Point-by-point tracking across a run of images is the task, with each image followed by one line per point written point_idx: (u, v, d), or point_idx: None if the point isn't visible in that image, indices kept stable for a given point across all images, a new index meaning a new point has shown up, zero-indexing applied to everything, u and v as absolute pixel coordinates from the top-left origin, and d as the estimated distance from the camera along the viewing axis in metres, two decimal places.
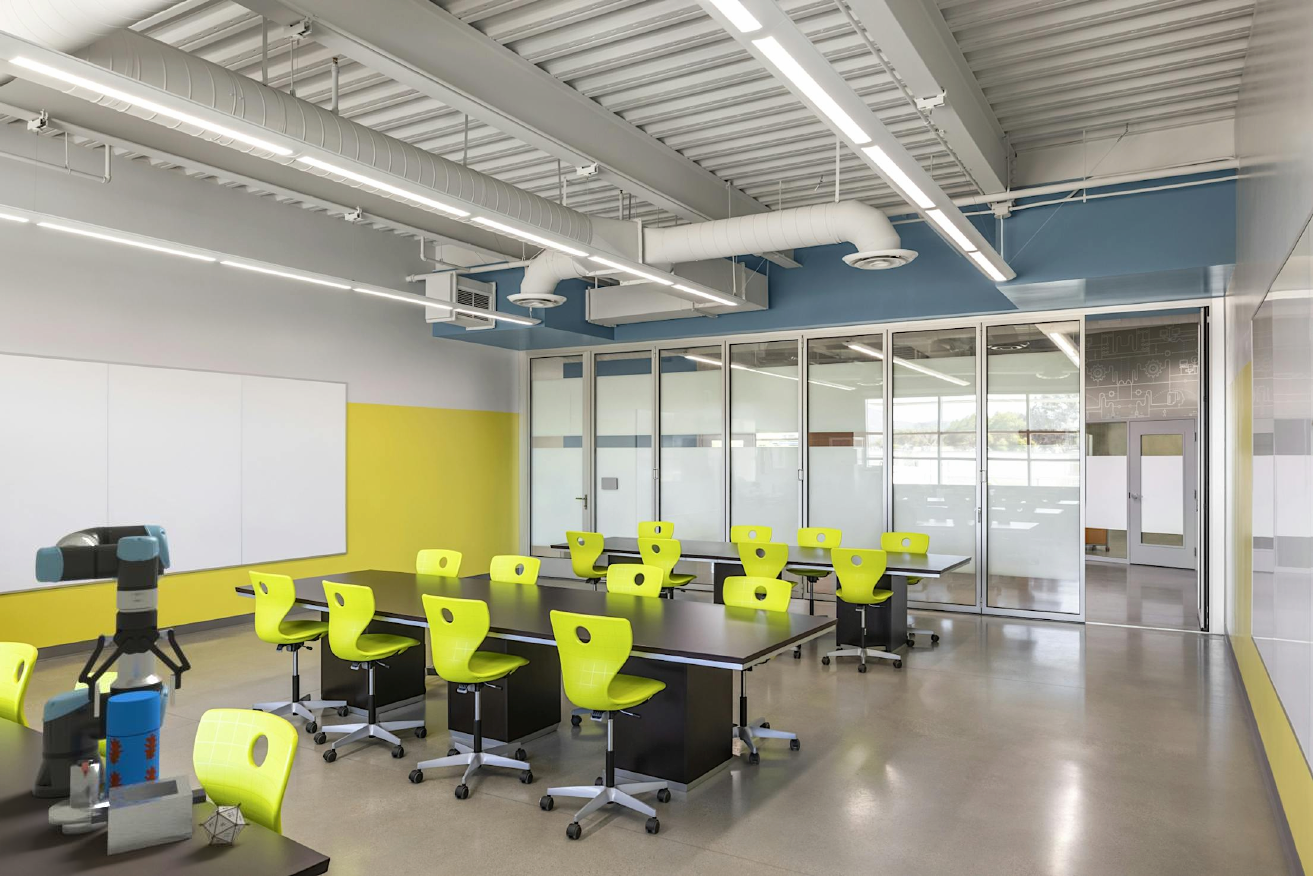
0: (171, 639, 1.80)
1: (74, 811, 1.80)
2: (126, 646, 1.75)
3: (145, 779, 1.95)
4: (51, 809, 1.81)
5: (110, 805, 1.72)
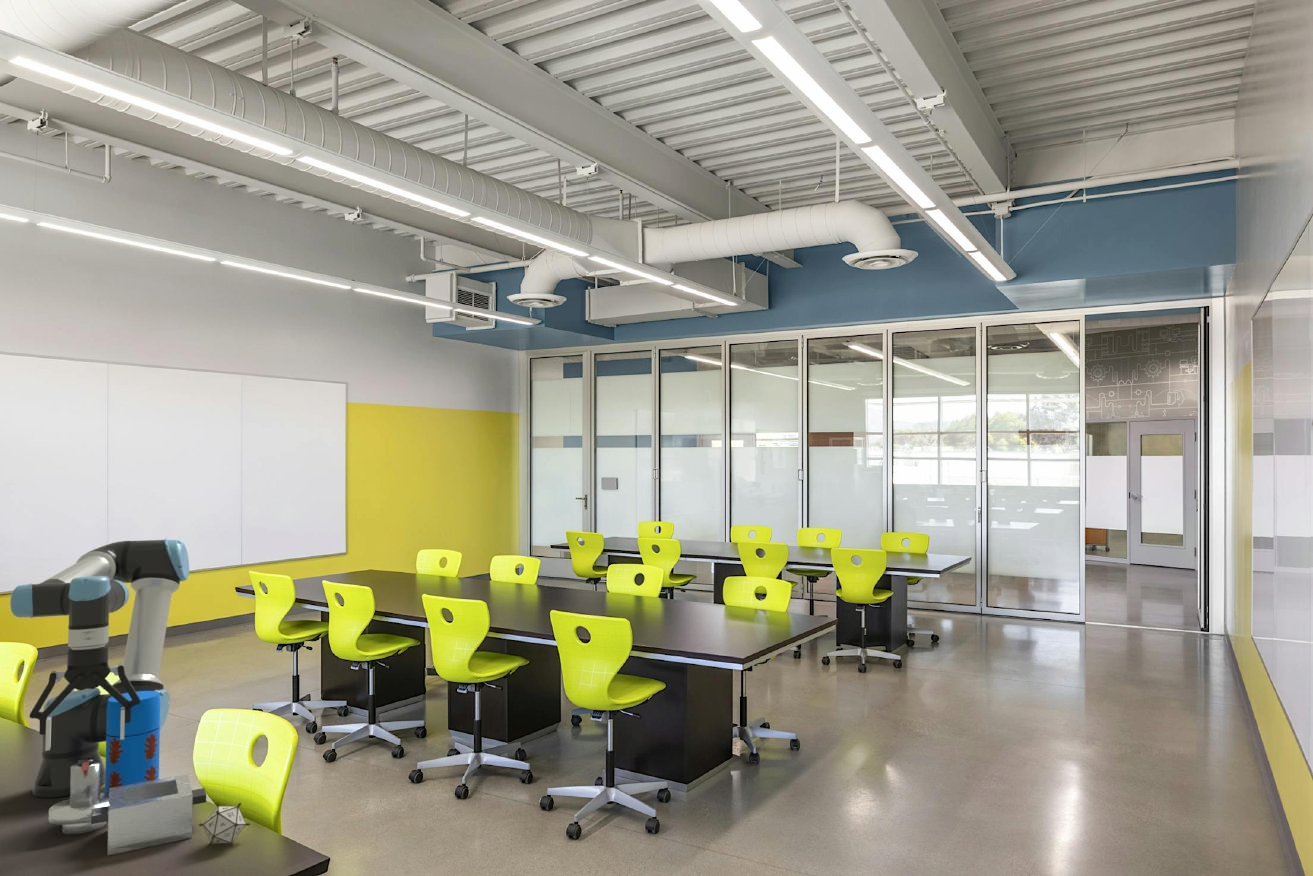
0: (121, 675, 1.88)
1: (74, 811, 1.80)
2: (77, 682, 1.83)
3: (145, 779, 1.95)
4: (51, 809, 1.81)
5: (110, 805, 1.72)
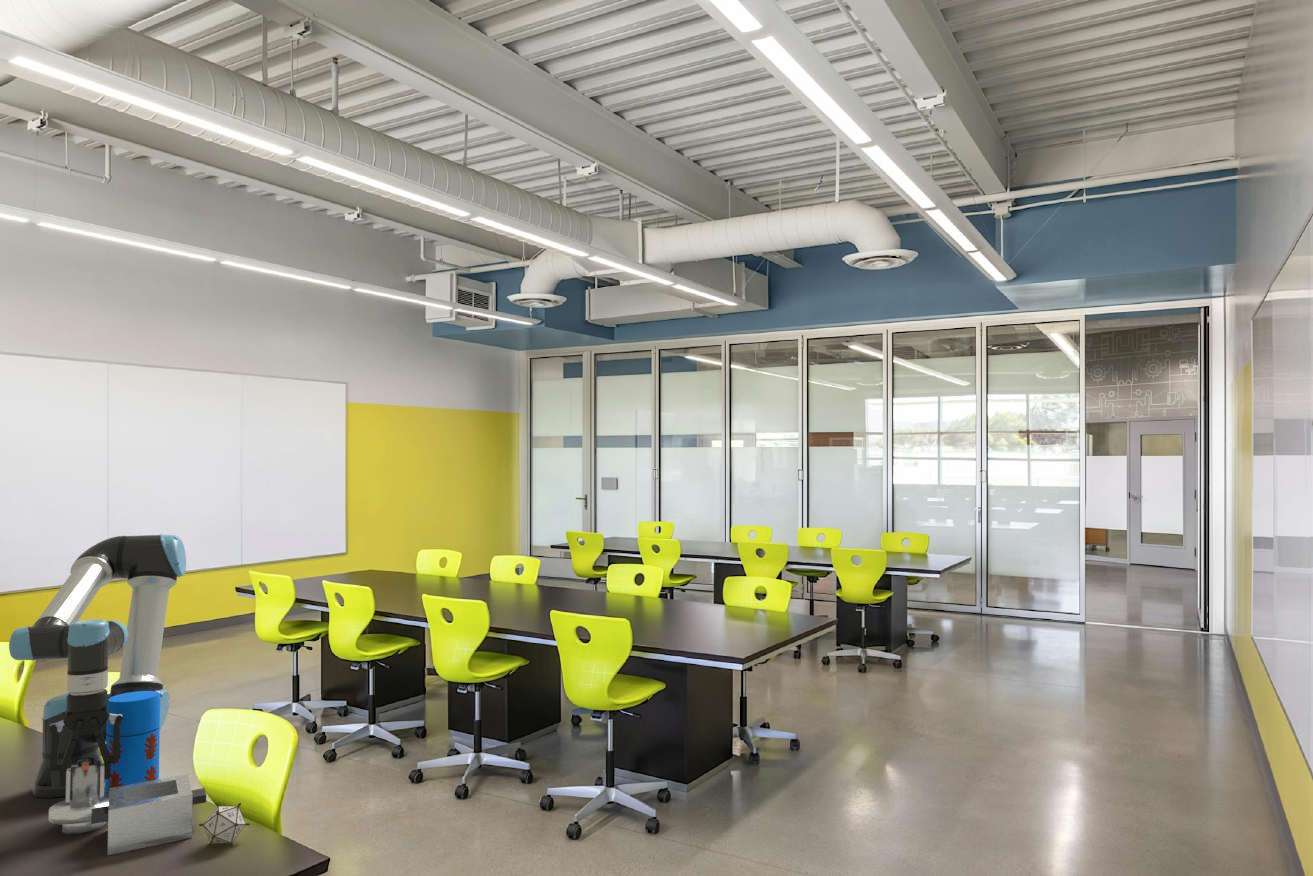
0: (116, 725, 1.87)
1: (74, 811, 1.80)
2: (78, 728, 1.83)
3: (145, 779, 1.95)
4: (51, 809, 1.81)
5: (110, 805, 1.72)
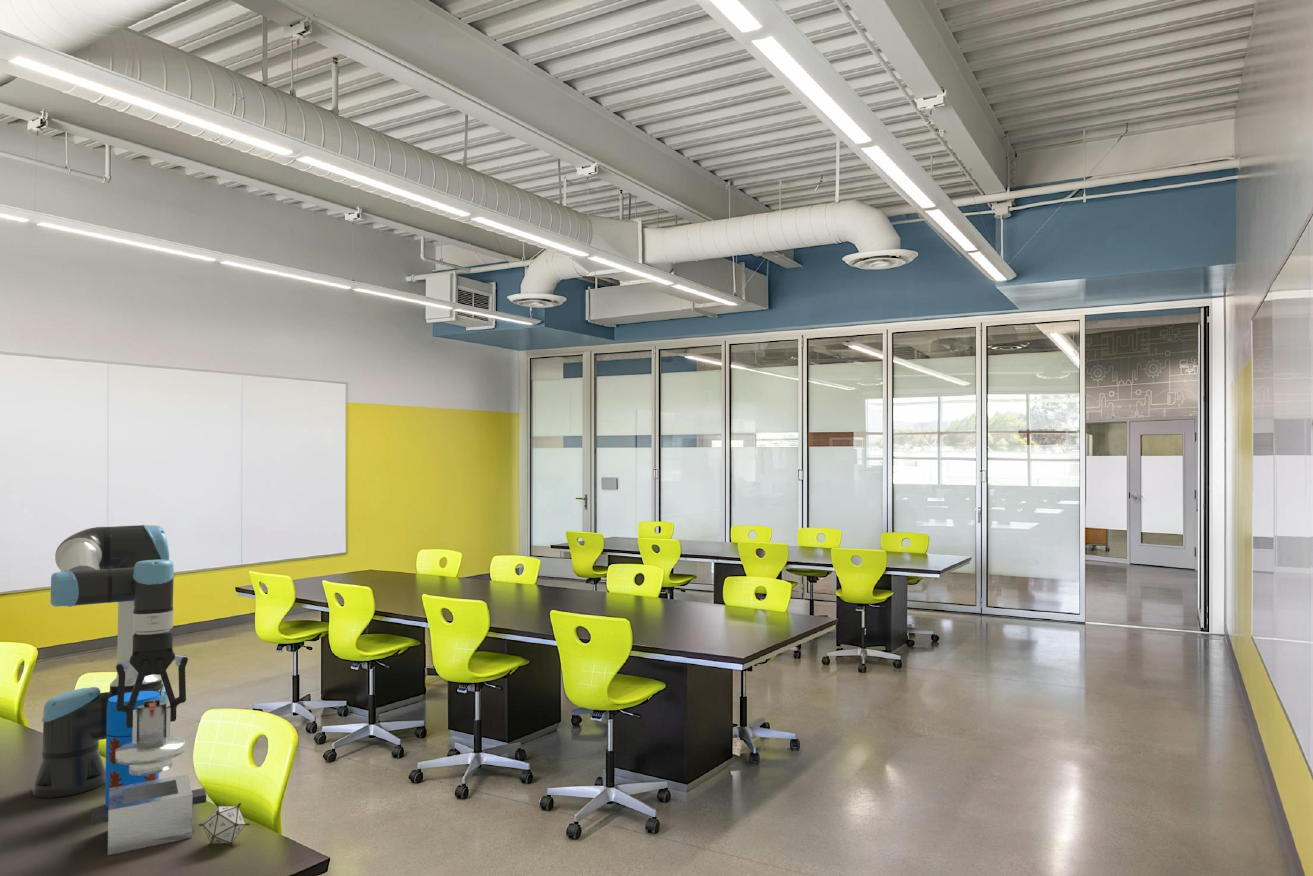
0: (182, 667, 1.84)
1: (142, 752, 1.76)
2: (145, 668, 1.79)
3: (145, 779, 1.95)
4: (118, 750, 1.77)
5: (110, 805, 1.72)
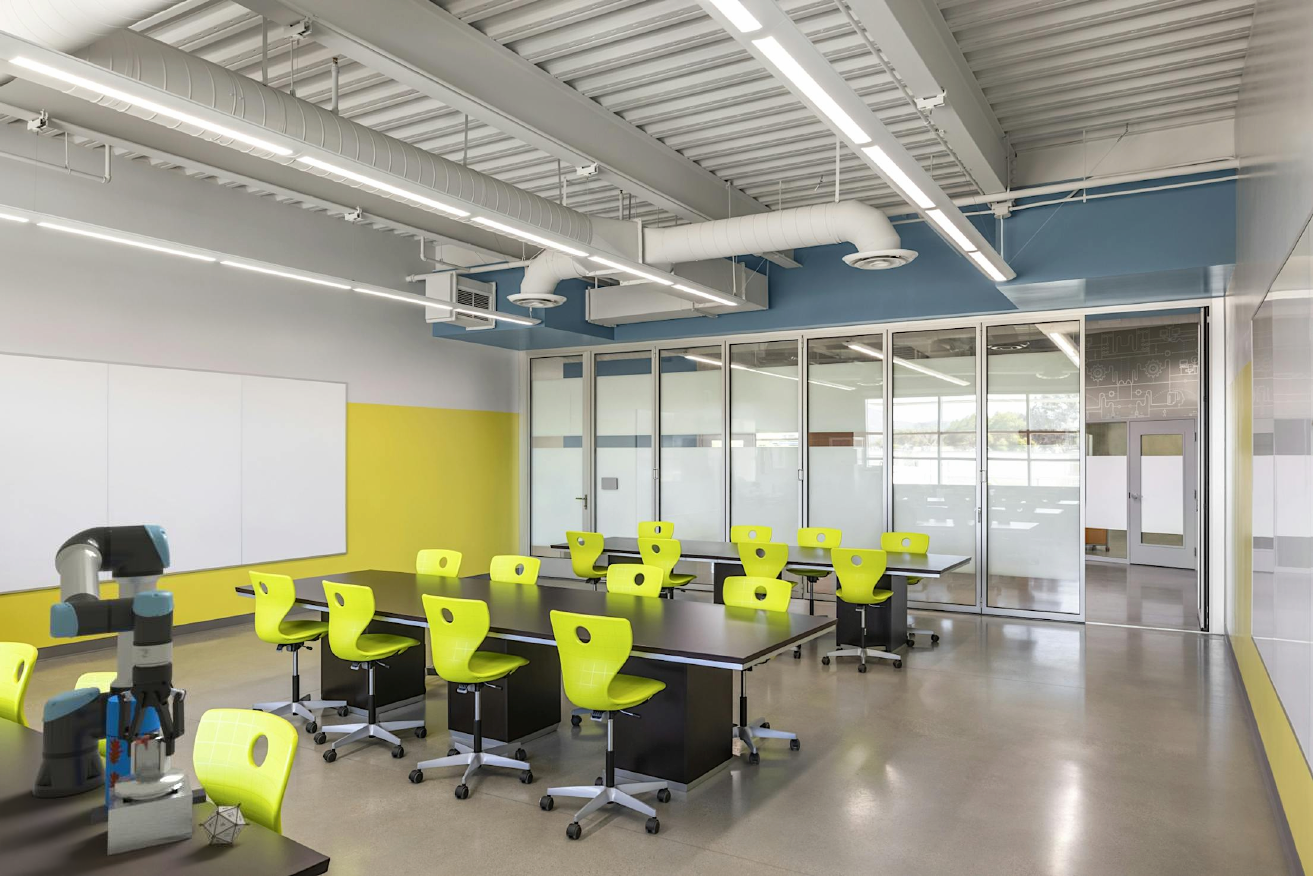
0: (175, 702, 1.80)
1: (130, 785, 1.76)
2: (140, 700, 1.79)
3: None
4: (122, 778, 1.80)
5: (110, 805, 1.72)
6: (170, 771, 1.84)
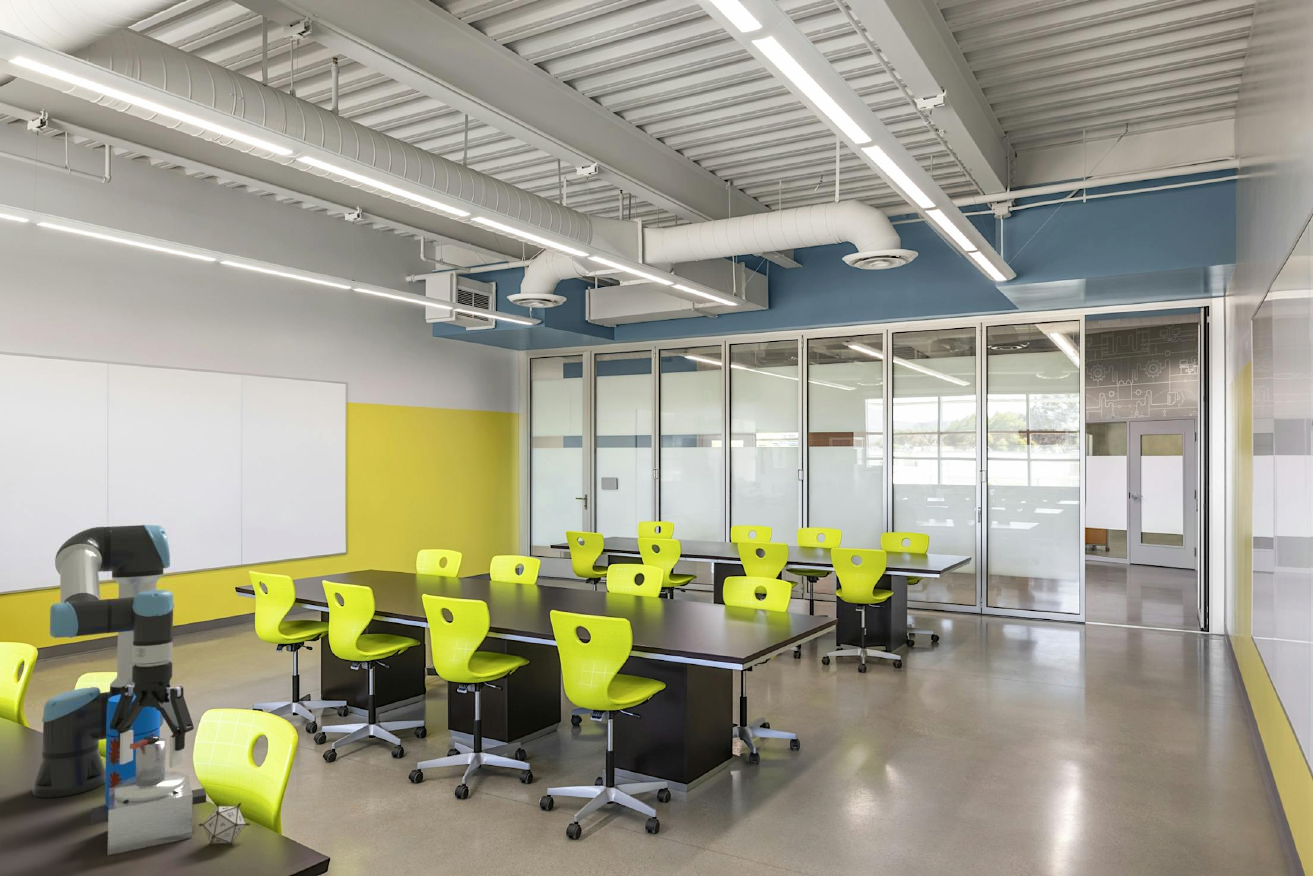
0: (172, 698, 1.79)
1: (126, 788, 1.76)
2: (138, 699, 1.80)
3: None
4: (127, 779, 1.82)
5: (110, 805, 1.72)
6: (172, 776, 1.84)
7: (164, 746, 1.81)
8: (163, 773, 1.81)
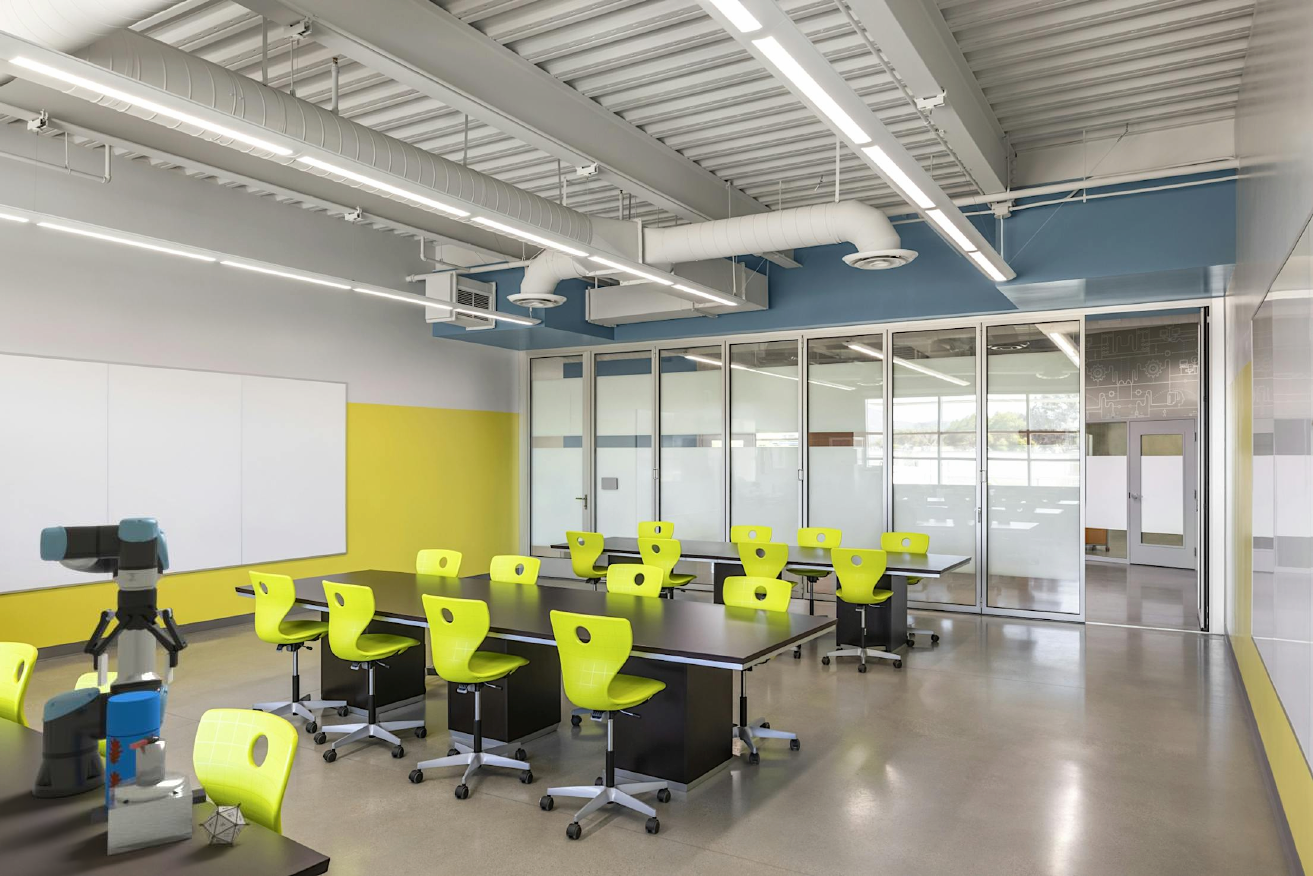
0: (165, 619, 1.85)
1: (126, 788, 1.76)
2: (124, 622, 1.83)
3: None
4: (127, 779, 1.82)
5: (110, 805, 1.72)
6: (172, 776, 1.84)
7: (164, 746, 1.81)
8: (163, 773, 1.81)
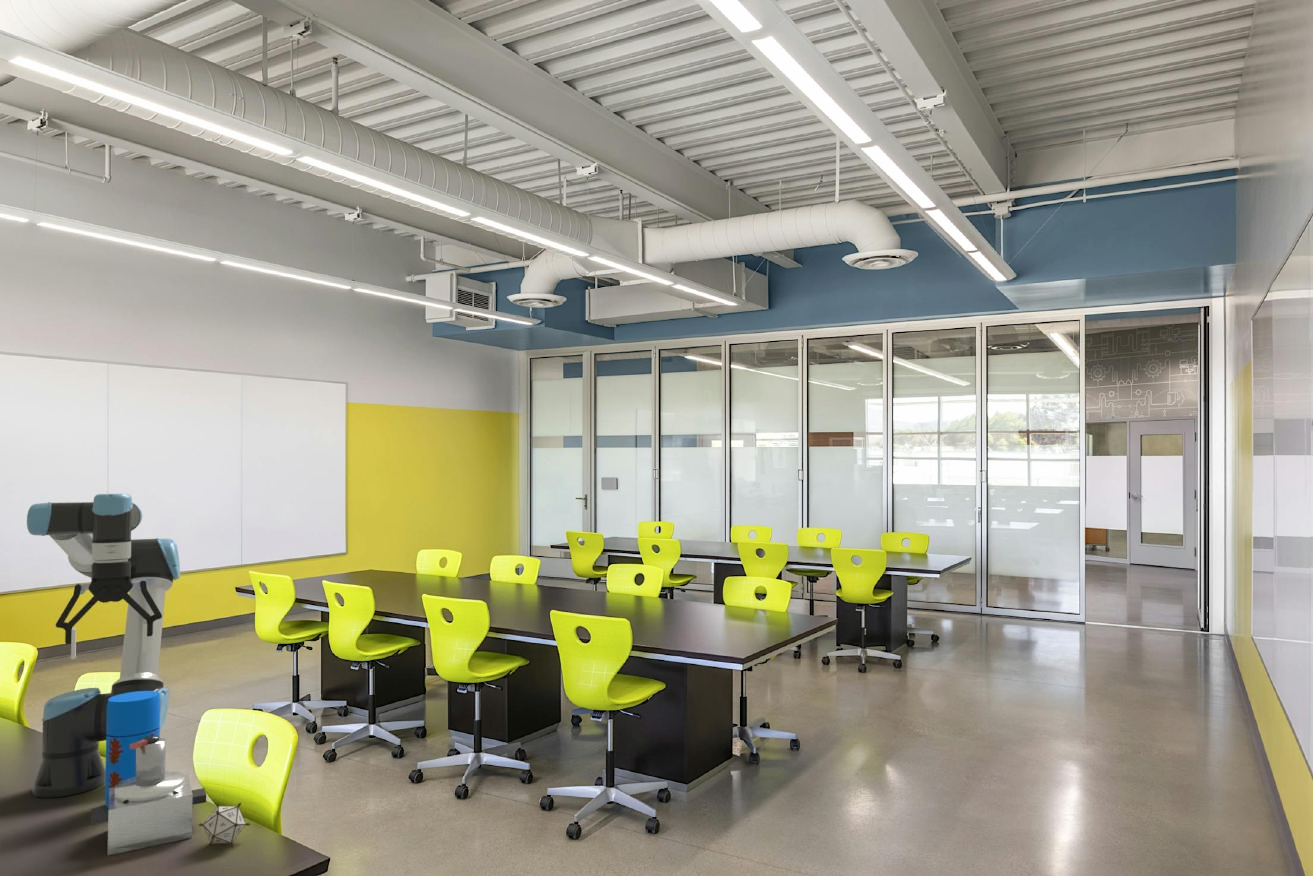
0: (143, 589, 1.93)
1: (126, 788, 1.76)
2: (101, 594, 1.88)
3: None
4: (127, 779, 1.82)
5: (110, 805, 1.72)
6: (172, 776, 1.84)
7: (164, 746, 1.81)
8: (163, 773, 1.81)
